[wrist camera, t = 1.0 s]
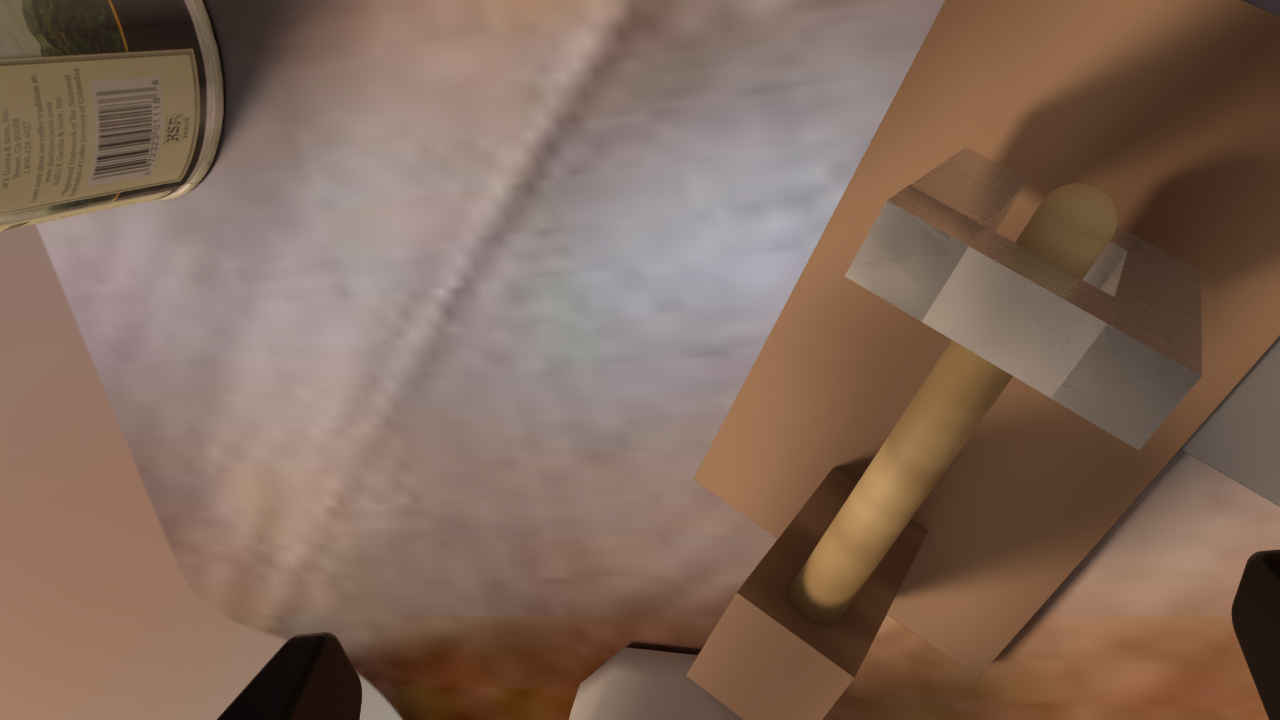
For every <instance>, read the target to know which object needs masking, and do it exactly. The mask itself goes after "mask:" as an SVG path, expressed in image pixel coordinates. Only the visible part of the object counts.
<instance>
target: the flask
mask: <svg viewBox="0 0 1280 720" xmlns="http://www.w3.org/2000/svg"><path fill="white" fill-rule="evenodd" d="M697 656H698V655H692V654H683V653H673V652H664V651H655V650H646V649H636V648H627V647H623V648H622V649H621V650H619V651H618V652H617V653H616V654H615V655H614V656H612V657H611V658H610V659H609V660H608V661H607V662H605V663H604V664H603V665H602V666H601V667H600V668H599V669H597V670H596V671H595V672H594V673H593V674H592V675H590V676H589V677H588V678H587V679H586V680H585V681H583V682H582V683H581V684H580V686H579V689H578V692H577V695H576V698H575V701H574V704H573V707H572V711H571V715H570V718H569V720H743V719H742V718H741V717H739V716H738V715H737V714H735V713H734V712H733V711H732V710H730V709H729V708H728V707H726V706H725V705H724V704H722V703H721V702H720V701H719V700H717V699H716V698H715V697H713V696H712V695H711V694H709V693H708V692H707V691H705V690H704V689H703V688H702V687H700V686H699V685H698V684H696V683H695V682H694V681H692V680H691V679H690V678H689V677H687V676H686V674H687V673H688V671H689V670H690V668H691V666H692V665H693V663H694V661H695V660H696V658H697Z"/></svg>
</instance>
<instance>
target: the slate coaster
mask: <svg viewBox="0 0 1280 720" xmlns="http://www.w3.org/2000/svg"><path fill="white" fill-rule="evenodd" d="M1180 449H1182V450H1183V451H1185V452H1187V453H1189V454H1190V455H1192V456H1194V457H1195V458H1197V459H1199V460H1201V461H1202V462H1204V463H1206V464H1207V465H1209V466H1211V467H1212V468H1214V469H1216V470H1218V471H1219V472H1221V473H1223V474H1224V475H1226V476H1228V477H1230V478H1231V479H1233V480H1235V481H1236V482H1238V483H1240V484H1242V485H1243V486H1245V487H1247V488H1248V489H1250V490H1252V491H1254V492H1255V493H1257V494H1259V495H1260V496H1262V497H1264V498H1265V499H1267V500H1269V501H1271V502H1272V503H1274V504H1276V505H1277V506H1279V507H1280V336H1279V337H1278V338H1277V339H1276V340H1275V341H1274V342H1273V344H1272V345H1271V346H1270V347H1269V348H1268V349H1267V350H1266V352H1265V353H1264V354H1263V355H1262V356H1261V357H1260V358H1259V360H1258V361H1257V362H1256V363H1255V364H1254V365H1253V366H1252V367H1251V369H1250V370H1249V371H1248V372H1247V373H1246V374H1245V375H1244V377H1243V378H1242V379H1241V380H1240V381H1239V382H1238V383H1237V384H1236V386H1235V387H1234V388H1233V389H1232V390H1231V391H1230V392H1229V394H1228V395H1227V396H1226V397H1225V398H1224V399H1223V400H1222V402H1221V403H1220V404H1219V405H1218V406H1217V407H1216V408H1215V409H1214V411H1213V412H1212V413H1211V414H1210V415H1209V416H1208V417H1207V419H1206V420H1205V421H1204V422H1203V423H1202V424H1201V425H1200V426H1199V428H1198V429H1197V430H1196V431H1195V432H1194V433H1193V434H1192V436H1191V437H1190V438H1189V439H1188V440H1187V441H1186V442H1185V444H1184V445H1183V446H1182V447H1181V448H1180Z"/></svg>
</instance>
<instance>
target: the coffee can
mask: <svg viewBox="0 0 1280 720" xmlns="http://www.w3.org/2000/svg"><path fill="white" fill-rule="evenodd" d="M223 113H224V93H223V77H222V71H221V63H220V55H219V50H218V46H217V43H216V41H215V38H214V34H213V29H212V25H211V22H210V18H209V16H208V13H207V11H206V8H205V5H204V2H203V0H0V231H4V230H9V229H13V228H18V227H22V226H27V225H32V224H37V223H42V222H47V221H52V220H58V219H63V218H67V217H72V216H77V215H82V214H86V213H91V212H96V211H101V210H106V209H111V208H116V207H121V206H126V205H131V204H136V203H141V202H146V201H153V200H167V199H174V198H177V197H179V196H181V195H184V194H186V193H187V192H189V191H190V190H192V189H193V188H194V187H195V186H196V185H197V184H198V183H199V182H200V181H201V180H202V179H203V177H204V176H205V175H206V173H207V171H208V170H209V168H210V166H211V164H212V163H213V161H214V158H215V154H216V150H217V147H218V143H219V139H220V135H221V130H222V122H223Z"/></svg>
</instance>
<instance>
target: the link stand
mask: <svg viewBox="0 0 1280 720" xmlns="http://www.w3.org/2000/svg"><path fill="white" fill-rule="evenodd" d="M965 147H967V148H969V149H971V150H973V151H975V152H977V153H979V154H981V155H983V156H985V157H986V158H988V159H990V160H992V161H994V162H996V163H998V164H1000V165H1002V166H1003V167H1005V168H1007V169H1009V170H1011V171H1013V172H1015V173H1017V174H1019V175H1021V176H1022V177H1024V178H1026V179H1028V182H1027V183H1026V185H1025V186H1024V188H1023V189H1022V191H1021V193H1020V194H1019V196H1018V197H1017V199H1016V200H1015V202H1014V204H1013V205H1012V207H1011V208H1010V210H1009V211H1008V213H1007V215H1006V216H1005V218H1004V219H1003V221H1002V222H1001V224H1000V226H999V227H998V229H997V230H996V232H997V233H998V234H1000V235H1002V236H1004V237H1006V238H1007V239H1009V240H1011V241H1013V242H1015V243H1017V244H1018V245H1020V246H1022V247H1024V248H1026V249H1027V250H1029V251H1031V252H1033V253H1035V254H1037V255H1038V256H1040V257H1042V258H1044V259H1046V260H1048V261H1049V262H1051V263H1053V264H1055V265H1057V266H1058V267H1060V268H1062V269H1064V270H1066V271H1068V272H1069V273H1071V274H1073V275H1075V276H1077V277H1078V278H1080V279H1082V280H1083V278H1084V277H1085V275H1086V274H1087V273H1088V271H1089V270H1090V268H1091V267H1092V266H1093V264H1094V263H1095V261H1096V260H1097V259H1098V257H1099V256H1100V254H1101V253H1102V252H1103V250H1104V249H1105V247H1106V246H1107V245H1108V243H1109V242H1110V240H1111V239H1112V237H1113V235H1114V234H1115V231H1116V228H1117V227H1119V228H1121V229H1123V230H1125V231H1127V232H1129V233H1131V234H1132V235H1134V236H1136V237H1138V238H1140V239H1142V240H1144V241H1146V242H1148V243H1149V244H1151V245H1153V246H1155V247H1157V248H1159V249H1161V250H1163V251H1165V252H1167V253H1168V254H1170V255H1172V256H1174V257H1176V258H1178V259H1180V260H1182V261H1184V262H1185V263H1187V264H1189V265H1191V266H1193V267H1195V268H1197V269H1199V270H1201V313H1202V377H1201V378H1200V379H1199V381H1198V382H1197V383H1196V384H1195V385H1194V386H1193V388H1192V389H1191V390H1190V391H1189V392H1188V393H1187V395H1186V396H1185V397H1184V398H1183V399H1182V400H1181V402H1180V403H1179V404H1178V405H1177V406H1176V408H1175V409H1174V410H1173V411H1172V412H1171V413H1170V415H1169V416H1168V417H1167V418H1166V419H1165V420H1164V422H1163V423H1162V424H1161V425H1160V426H1159V428H1158V429H1157V430H1156V431H1155V432H1154V433H1153V435H1152V436H1151V437H1150V438H1149V439H1148V440H1147V442H1146V443H1145V444H1144V445H1143V446H1142V447H1141V449H1140V450H1137V449H1136V448H1134V447H1132V446H1131V445H1129V444H1127V443H1125V442H1124V441H1122V440H1120V439H1119V438H1117V437H1115V436H1114V435H1112V434H1110V433H1109V432H1107V431H1105V430H1103V429H1102V428H1100V427H1098V426H1097V425H1095V424H1093V423H1092V422H1090V421H1088V420H1087V419H1085V418H1083V417H1082V416H1080V415H1078V414H1076V413H1075V412H1073V411H1071V410H1070V409H1068V408H1066V407H1065V406H1063V405H1061V404H1060V403H1058V402H1056V401H1055V400H1053V399H1051V398H1049V397H1048V396H1046V395H1044V394H1043V393H1041V392H1039V391H1038V390H1036V389H1034V388H1033V387H1031V386H1029V385H1027V384H1026V383H1024V382H1022V381H1021V380H1019V379H1017V378H1016V377H1014V376H1012V375H1011V374H1009V373H1007V372H1006V371H1004V370H1002V369H1000V368H999V367H997V366H995V365H994V364H992V363H990V362H989V361H987V360H985V359H984V358H982V357H980V356H978V355H977V354H975V353H973V352H972V351H970V350H968V349H967V348H965V347H963V346H962V345H960V344H958V343H957V342H955V341H953V340H951V339H950V338H948V337H946V336H945V335H943V334H941V333H940V332H938V331H936V330H935V329H933V328H931V327H929V326H928V325H926V324H924V323H923V322H921V321H919V320H918V319H916V318H914V317H913V316H911V315H909V314H908V313H906V312H904V311H902V310H901V309H899V308H897V307H896V306H894V305H892V304H891V303H889V302H887V301H886V300H884V299H882V298H881V297H879V296H877V295H875V294H874V293H872V292H870V291H869V290H867V289H865V288H864V287H862V286H860V285H859V284H857V283H855V282H853V281H852V280H850V279H848V278H847V277H845V275H846V273H847V271H848V269H849V267H850V266H851V264H852V262H853V260H854V258H855V257H856V255H857V253H858V251H859V249H860V248H861V246H862V244H863V242H864V240H865V239H866V237H867V235H868V233H869V231H870V230H871V228H872V226H873V224H874V222H875V221H876V219H877V217H878V215H879V213H880V212H881V210H882V208H883V206H884V204H885V203H886V201H887V200H888V199H890V198H891V197H892V196H894V195H895V194H897V193H898V192H900V191H901V190H903V189H904V188H906V187H907V186H909V185H910V184H912V183H913V182H915V181H916V180H918V179H919V178H921V177H922V176H924V175H925V174H927V173H928V172H930V171H931V170H933V169H934V168H936V167H937V166H939V165H940V164H942V163H943V162H945V161H946V160H947V159H949V158H950V157H952V156H953V155H955V154H956V153H958V152H959V151H961V150H962V149H964V148H965ZM1279 336H1280V17H1279V16H1277V15H1275V14H1272V13H1270V12H1268V11H1266V10H1263V9H1261V8H1259V7H1256V6H1254V5H1252V4H1250V3H1247V2H1245V1H1243V0H946V1H945V2H944V4H943V6H942V8H941V10H940V12H939V14H938V16H937V18H936V20H935V21H934V23H933V25H932V27H931V29H930V31H929V33H928V35H927V37H926V39H925V40H924V42H923V44H922V46H921V48H920V50H919V52H918V54H917V56H916V58H915V59H914V61H913V63H912V65H911V67H910V69H909V71H908V73H907V75H906V77H905V78H904V80H903V82H902V84H901V86H900V88H899V90H898V92H897V94H896V96H895V97H894V99H893V101H892V103H891V105H890V107H889V109H888V111H887V113H886V115H885V116H884V118H883V120H882V122H881V124H880V126H879V128H878V130H877V132H876V134H875V135H874V137H873V139H872V141H871V143H870V145H869V147H868V149H867V151H866V153H865V154H864V156H863V158H862V160H861V162H860V164H859V166H858V168H857V170H856V172H855V173H854V175H853V177H852V179H851V181H850V183H849V185H848V187H847V189H846V191H845V192H844V194H843V196H842V198H841V200H840V202H839V204H838V206H837V208H836V210H835V211H834V213H833V215H832V217H831V219H830V221H829V223H828V225H827V227H826V229H825V230H824V232H823V234H822V236H821V238H820V240H819V242H818V244H817V246H816V248H815V249H814V251H813V253H812V255H811V257H810V259H809V261H808V263H807V265H806V267H805V268H804V270H803V272H802V274H801V276H800V278H799V280H798V282H797V284H796V286H795V287H794V289H793V291H792V293H791V295H790V297H789V299H788V301H787V303H786V305H785V306H784V308H783V310H782V312H781V314H780V316H779V318H778V320H777V322H776V324H775V325H774V327H773V329H772V331H771V333H770V335H769V337H768V339H767V341H766V343H765V344H764V346H763V348H762V350H761V352H760V354H759V356H758V358H757V360H756V362H755V363H754V365H753V367H752V369H751V371H750V373H749V375H748V377H747V379H746V381H745V382H744V384H743V386H742V388H741V390H740V392H739V394H738V396H737V398H736V400H735V401H734V403H733V405H732V407H731V409H730V411H729V413H728V415H727V417H726V419H725V420H724V422H723V424H722V426H721V428H720V430H719V432H718V434H717V436H716V438H715V439H714V441H713V443H712V445H711V447H710V449H709V451H708V453H707V455H706V457H705V458H704V460H703V462H702V464H701V466H700V468H699V470H698V472H697V474H696V476H695V477H694V479H693V480H695V481H696V482H697V483H699V484H700V485H702V486H703V487H705V488H706V489H708V490H709V491H710V492H712V493H713V494H715V495H716V496H718V497H719V498H720V499H722V500H723V501H725V502H726V503H728V504H729V505H730V506H732V507H733V508H735V509H736V510H738V511H739V512H741V513H742V514H743V515H745V516H746V517H748V518H749V519H751V520H752V521H753V522H755V523H756V524H758V525H759V526H761V527H762V528H763V529H765V530H766V531H768V532H769V533H771V534H772V535H774V536H775V537H776V538H778V540H777V541H776V542H775V544H774V545H773V546H772V547H771V549H770V550H769V551H768V553H767V554H766V555H765V557H764V558H763V559H762V560H761V562H760V563H759V564H758V566H757V567H756V568H755V569H754V571H753V572H752V573H751V575H750V576H749V577H748V579H747V580H746V581H745V582H744V584H743V585H742V586H741V588H740V589H739V590H738V591H737V593H736V594H735V596H734V598H733V599H732V601H731V603H730V604H729V606H728V608H727V609H726V611H725V612H724V614H723V616H722V617H721V619H720V621H719V622H718V624H717V625H716V627H715V629H714V630H713V632H712V634H711V635H710V637H709V639H708V640H707V642H706V643H705V645H704V647H703V648H702V650H701V652H700V653H699V655H698V656H697V658H696V660H695V661H694V663H693V665H692V666H691V668H690V670H689V671H688V673H687V674H686V676H687V677H689V678H690V679H691V680H692V681H694V682H695V683H696V684H698V685H699V686H700V687H702V688H703V689H704V690H705V691H707V692H708V693H709V694H711V695H712V696H713V697H715V698H716V699H717V700H719V701H720V702H721V703H722V704H724V705H725V706H726V707H728V708H729V709H730V710H732V711H733V712H734V713H735V714H737V715H738V716H739V717H741V718H742V719H743V720H822V719H823V718H824V717H825V716H826V714H827V713H828V712H829V710H830V709H831V708H832V706H833V705H834V704H835V703H836V701H837V700H838V699H839V697H840V696H841V695H842V693H843V692H844V691H845V690H846V688H847V687H848V686H849V684H850V683H851V682H852V680H853V679H854V678H855V676H856V674H857V672H858V670H859V668H860V666H861V664H862V662H863V660H864V658H865V656H866V654H867V652H868V650H869V648H870V646H871V644H872V642H873V640H874V638H875V636H876V634H877V632H878V630H879V628H880V626H881V624H882V622H883V620H884V618H885V616H886V614H887V615H888V616H890V617H891V618H893V619H894V620H896V621H897V622H898V623H900V624H901V625H903V626H904V627H906V628H907V629H909V630H910V631H911V632H913V633H914V634H916V635H917V636H919V637H920V638H921V639H923V640H924V641H926V642H927V643H929V644H930V645H931V646H933V647H934V648H936V649H937V650H939V651H940V652H942V653H943V654H944V655H946V656H947V657H949V658H950V659H952V660H953V661H954V662H956V663H957V664H959V665H960V666H962V667H963V668H965V669H966V670H967V671H969V672H970V673H972V674H973V675H975V676H976V677H977V678H978V677H979V676H980V675H981V674H982V673H983V672H984V671H985V669H986V668H987V667H988V666H989V665H990V664H991V663H992V662H993V660H994V659H995V658H996V657H997V656H998V655H999V654H1000V652H1001V651H1002V650H1003V649H1004V648H1005V647H1006V646H1007V644H1008V643H1009V642H1010V641H1011V640H1012V639H1013V638H1014V637H1015V635H1016V634H1017V633H1018V632H1019V631H1020V630H1021V629H1022V627H1023V626H1024V625H1025V624H1026V623H1027V622H1028V621H1029V620H1030V618H1031V617H1032V616H1033V615H1034V614H1035V613H1036V612H1037V610H1038V609H1039V608H1040V607H1041V606H1042V605H1043V604H1044V602H1045V601H1046V600H1047V599H1048V598H1049V597H1050V596H1051V595H1052V593H1053V592H1054V591H1055V590H1056V589H1057V588H1058V587H1059V585H1060V584H1061V583H1062V582H1063V581H1064V580H1065V579H1066V578H1067V576H1068V575H1069V574H1070V573H1071V572H1072V571H1073V570H1074V568H1075V567H1076V566H1077V565H1078V564H1079V563H1080V562H1081V560H1082V559H1083V558H1084V557H1085V556H1086V555H1087V554H1088V553H1089V551H1090V550H1091V549H1092V548H1093V547H1094V546H1095V545H1096V543H1097V542H1098V541H1099V540H1100V539H1101V538H1102V537H1103V535H1104V534H1105V533H1106V532H1107V531H1108V530H1109V529H1110V528H1111V526H1112V525H1113V524H1114V523H1115V522H1116V521H1117V520H1118V518H1119V517H1120V516H1121V515H1122V514H1123V513H1124V512H1125V511H1126V509H1127V508H1128V507H1129V506H1130V505H1131V504H1132V503H1133V501H1134V500H1135V499H1136V498H1137V497H1138V496H1139V495H1140V493H1141V492H1142V491H1143V490H1144V489H1145V488H1146V487H1147V486H1148V484H1149V483H1150V482H1151V481H1152V480H1153V479H1154V478H1155V476H1156V475H1157V474H1158V473H1159V472H1160V471H1161V470H1162V469H1163V467H1164V466H1165V465H1166V464H1167V463H1168V462H1169V461H1170V459H1171V458H1172V457H1173V456H1174V455H1175V454H1176V453H1177V451H1178V450H1179V449H1180V448H1181V447H1182V446H1183V445H1184V444H1185V442H1186V441H1187V440H1188V439H1189V438H1190V437H1191V436H1192V434H1193V433H1194V432H1195V431H1196V430H1197V429H1198V428H1199V426H1200V425H1201V424H1202V423H1203V422H1204V421H1205V420H1206V419H1207V417H1208V416H1209V415H1210V414H1211V413H1212V412H1213V411H1214V409H1215V408H1216V407H1217V406H1218V405H1219V404H1220V403H1221V402H1222V400H1223V399H1224V398H1225V397H1226V396H1227V395H1228V394H1229V392H1230V391H1231V390H1232V389H1233V388H1234V387H1235V386H1236V384H1237V383H1238V382H1239V381H1240V380H1241V379H1242V378H1243V377H1244V375H1245V374H1246V373H1247V372H1248V371H1249V370H1250V369H1251V367H1252V366H1253V365H1254V364H1255V363H1256V362H1257V361H1258V360H1259V358H1260V357H1261V356H1262V355H1263V354H1264V353H1265V352H1266V350H1267V349H1268V348H1269V347H1270V346H1271V345H1272V344H1273V342H1274V341H1275V340H1276V339H1277V338H1278V337H1279Z"/></svg>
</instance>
